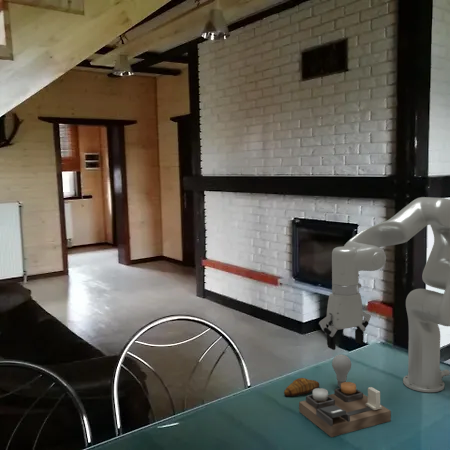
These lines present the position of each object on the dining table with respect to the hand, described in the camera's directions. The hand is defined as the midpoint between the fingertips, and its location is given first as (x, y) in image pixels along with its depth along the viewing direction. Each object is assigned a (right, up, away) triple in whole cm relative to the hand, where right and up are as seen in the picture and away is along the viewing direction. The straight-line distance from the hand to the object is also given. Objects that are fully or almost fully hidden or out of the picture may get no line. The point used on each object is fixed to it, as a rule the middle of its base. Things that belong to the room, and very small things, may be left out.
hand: (345, 345), depth 149 cm
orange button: (+1, -14, +2) cm, 14 cm away
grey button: (-8, -15, -2) cm, 17 cm away
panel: (-1, -19, -4) cm, 20 cm away
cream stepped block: (+7, -16, -6) cm, 18 cm away
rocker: (-6, -16, -11) cm, 20 cm away
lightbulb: (+2, -17, +15) cm, 23 cm away
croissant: (-11, -18, +13) cm, 25 cm away
